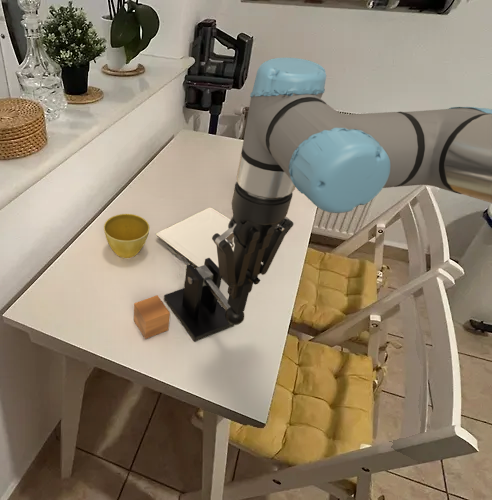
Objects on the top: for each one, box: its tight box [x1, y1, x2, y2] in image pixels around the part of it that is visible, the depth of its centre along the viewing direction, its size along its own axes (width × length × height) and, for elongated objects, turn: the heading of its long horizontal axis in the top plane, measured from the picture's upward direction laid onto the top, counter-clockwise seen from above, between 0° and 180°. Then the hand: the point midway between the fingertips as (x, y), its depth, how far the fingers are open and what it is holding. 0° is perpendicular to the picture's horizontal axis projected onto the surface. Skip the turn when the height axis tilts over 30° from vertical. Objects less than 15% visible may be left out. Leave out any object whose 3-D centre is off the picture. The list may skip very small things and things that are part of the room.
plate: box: [155, 206, 235, 268], centre depth 101 cm, size 19×19×2 cm
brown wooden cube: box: [133, 294, 171, 340], centre depth 81 cm, size 5×5×5 cm
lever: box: [194, 265, 245, 326], centre depth 76 cm, size 13×3×3 cm, turn 26°
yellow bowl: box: [103, 213, 150, 259], centre depth 97 cm, size 10×10×7 cm
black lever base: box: [163, 258, 235, 342], centre depth 82 cm, size 12×9×12 cm
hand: (235, 306), depth 72 cm, fingers closed
